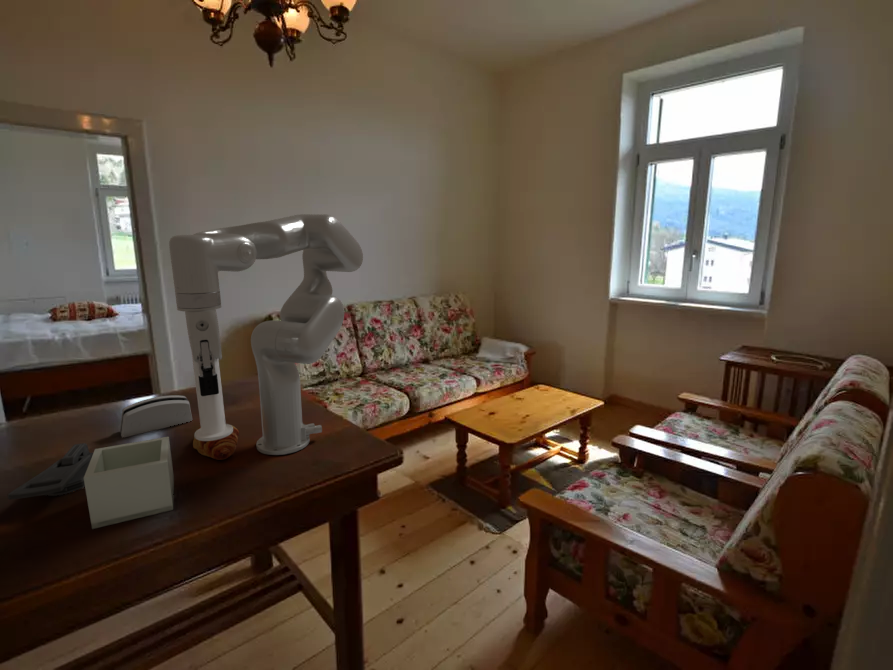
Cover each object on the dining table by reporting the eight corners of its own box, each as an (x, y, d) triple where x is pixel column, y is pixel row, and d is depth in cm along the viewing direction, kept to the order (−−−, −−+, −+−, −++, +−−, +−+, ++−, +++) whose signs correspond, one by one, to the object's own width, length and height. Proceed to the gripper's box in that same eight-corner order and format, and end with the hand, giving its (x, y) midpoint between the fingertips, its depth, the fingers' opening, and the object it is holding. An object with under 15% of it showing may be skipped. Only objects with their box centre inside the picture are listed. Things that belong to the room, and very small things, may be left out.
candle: (207, 444, 88) (191, 318, 83) (187, 435, 92) (171, 314, 87) (240, 431, 94) (228, 312, 89) (220, 424, 98) (208, 309, 92)
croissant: (197, 448, 120) (178, 426, 116) (231, 423, 124) (214, 401, 120) (216, 480, 103) (194, 456, 100) (255, 450, 108) (235, 426, 104)
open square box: (173, 479, 97) (168, 436, 95) (173, 509, 87) (167, 461, 85) (102, 494, 91) (95, 449, 89) (92, 529, 81) (83, 477, 79)
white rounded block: (188, 415, 132) (188, 387, 127) (193, 425, 129) (193, 397, 124) (118, 431, 120) (115, 401, 116) (122, 442, 117) (119, 412, 113)
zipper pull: (0, 496, 79) (56, 438, 101) (7, 530, 80) (61, 465, 103) (64, 487, 82) (105, 432, 105) (69, 519, 84) (108, 459, 106)
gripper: (224, 305, 82) (234, 401, 86) (217, 294, 96) (226, 377, 100) (175, 309, 78) (188, 408, 82) (176, 296, 92) (187, 382, 96)
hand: (209, 390), depth 91 cm, fingers closed on candle, 3 cm apart
